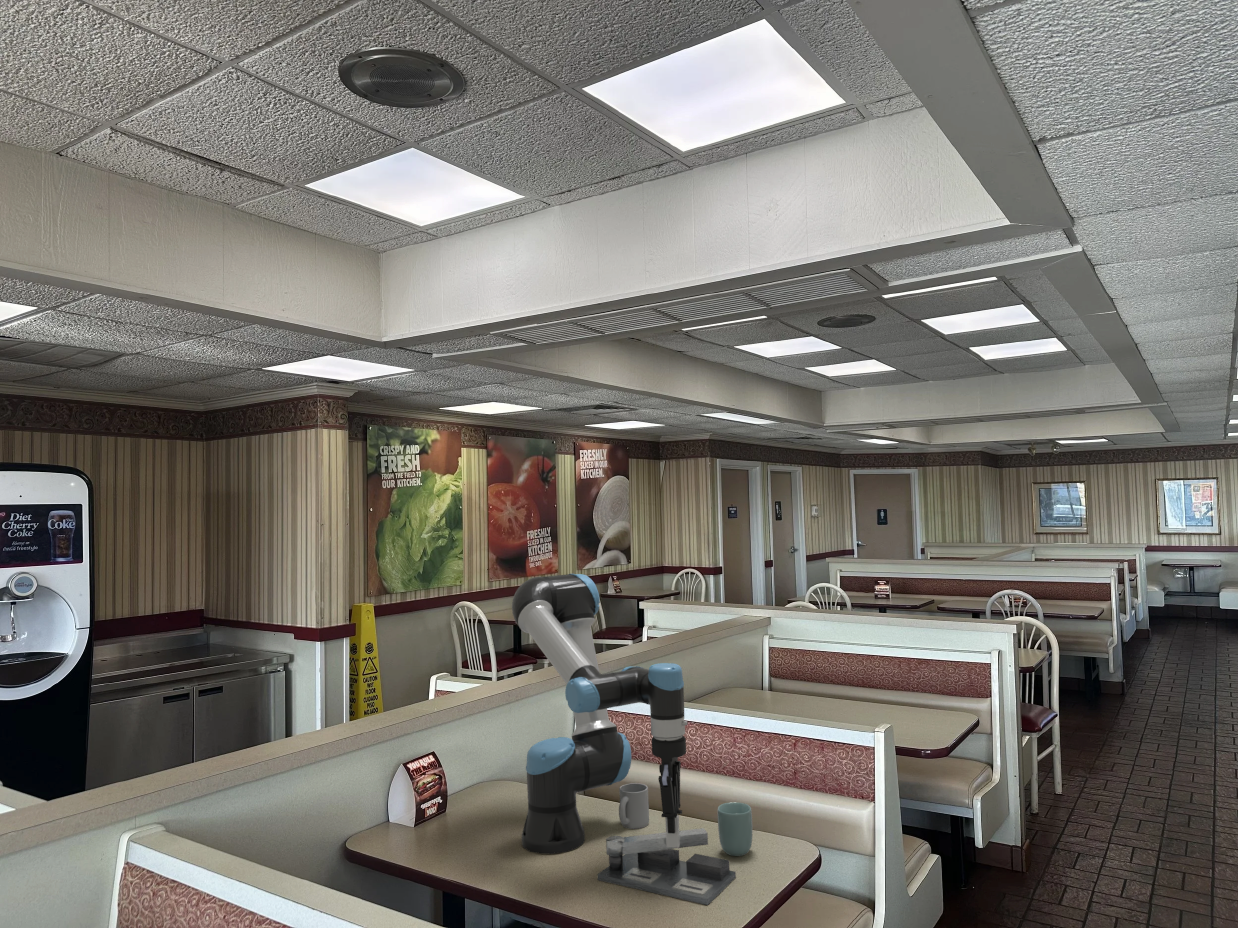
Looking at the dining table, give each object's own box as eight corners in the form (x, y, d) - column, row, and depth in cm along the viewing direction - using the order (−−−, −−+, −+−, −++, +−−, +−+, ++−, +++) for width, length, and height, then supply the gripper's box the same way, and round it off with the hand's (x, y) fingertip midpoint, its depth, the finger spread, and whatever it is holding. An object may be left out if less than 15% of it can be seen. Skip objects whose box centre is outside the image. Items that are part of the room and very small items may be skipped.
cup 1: (654, 821, 212) (653, 785, 212) (633, 835, 203) (631, 797, 204) (630, 816, 216) (629, 781, 216) (608, 829, 207) (607, 793, 208)
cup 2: (752, 860, 186) (750, 814, 187) (717, 858, 188) (715, 813, 188) (754, 846, 194) (752, 802, 194) (720, 844, 195) (718, 801, 196)
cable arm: (608, 856, 180) (607, 843, 180) (605, 849, 184) (604, 836, 184) (708, 845, 184) (708, 832, 184) (703, 838, 188) (703, 825, 188)
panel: (597, 879, 179) (596, 859, 180) (630, 855, 191) (629, 836, 192) (707, 905, 166) (706, 883, 166) (735, 877, 178) (734, 857, 178)
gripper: (679, 744, 177) (684, 859, 175) (690, 728, 189) (695, 836, 187) (645, 743, 178) (650, 856, 177) (658, 728, 191) (662, 834, 189)
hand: (673, 846), depth 182 cm, fingers closed
